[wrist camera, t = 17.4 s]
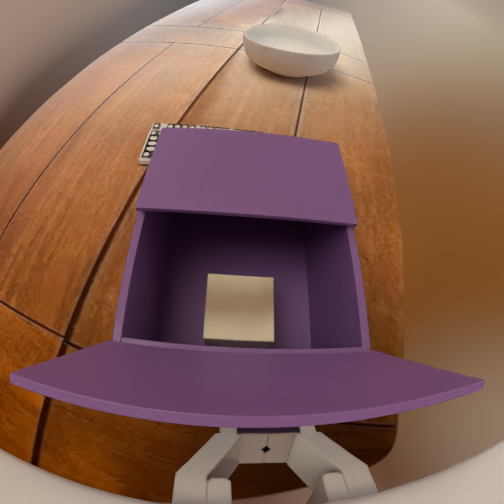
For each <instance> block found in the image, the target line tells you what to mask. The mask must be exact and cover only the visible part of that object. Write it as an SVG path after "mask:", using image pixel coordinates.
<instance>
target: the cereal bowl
mask: <svg viewBox="0 0 504 504" xmlns="http://www.w3.org/2000/svg"><path fill="white" fill-rule="evenodd" d="M243 44H244V49H245V51H246V54H247V55H248V57H249V58H250V59H251V60H252V61H253V62H255V63H256V64H258V65H259V66H261V67H263V68H265V69H268V70H270V71H271V72H273V73H275V74H278V75H281V76H285V77H292V78H301V77H305V76H315V75H319V74H322V73H325V72H327V71H329V70H330V69H331V68H332V67H333V66H334V65H335V63H336V62H337V59H338V57H339V54H340V46H339V45H338V44H337V43H336V42H335V41H333V40H332V39H330V38H329V37H327V36H325V35H322V34H320V33H318V32H315V31H312V30H309V29H305V28H301V27H297V26H291V25H284V24H260V25H254V26H251V27H249V28H247V29H246V30H245V31H244V35H243Z"/></svg>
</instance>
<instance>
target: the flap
mask: <svg viewBox="0 0 504 504" xmlns="http://www.w3.org/2000/svg"><path fill="white" fill-rule="evenodd" d="M10 381H11V384H14V385H17V386H19V387H22V388H24V389H27V390H30V391H33V392H36V393H39V394H41V395H45V396H48V397H51V398H54V399H57V400H60V401H64V402H67V403H71V404H75V405H78V406H82V407H86V408H90V409H94V410H98V411H103V412H107V413H112V414H117V415H122V416H127V417H133V418H139V419H145V420H152V421H159V422H166V423H175V424H184V425H195V426H209V427H229V428H280V427H300V426H313V425H324V424H334V423H342V422H350V421H357V420H364V419H370V418H376V417H381V416H386V415H392V414H396V413H401V412H406V411H410V410H414V409H418V408H422V407H426V406H430V405H433V404H437V403H441V402H444V401H448V400H451V399H454V398H457V397H461V396H464V395H467V394H470V393H472V392H475V391H478V390H481V389H483V388H484V382H485V380H483V379H479V378H474V377H470V376H466V375H461V374H458V373H454V372H450V371H446V370H442V369H438V368H434V367H431V366H427V365H423V364H420V363H416V362H413V361H409V360H405V359H402V358H399V357H395V356H392V355H388V354H385V353H381V352H378V351H369V352H353V353H332V354H245V353H223V352H207V351H194V350H182V349H171V348H162V347H153V346H145V345H137V344H129V343H122V342H115V341H109V340H108V341H105V342H102V343H99V344H96V345H93V346H90V347H87V348H84V349H82V350H79V351H76V352H73V353H70V354H67V355H64V356H61V357H58V358H55V359H52V360H49V361H46V362H43V363H39V364H36V365H33V366H30V367H27V368H24V369H21V370H17V371H14V372H11V373H10Z"/></svg>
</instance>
